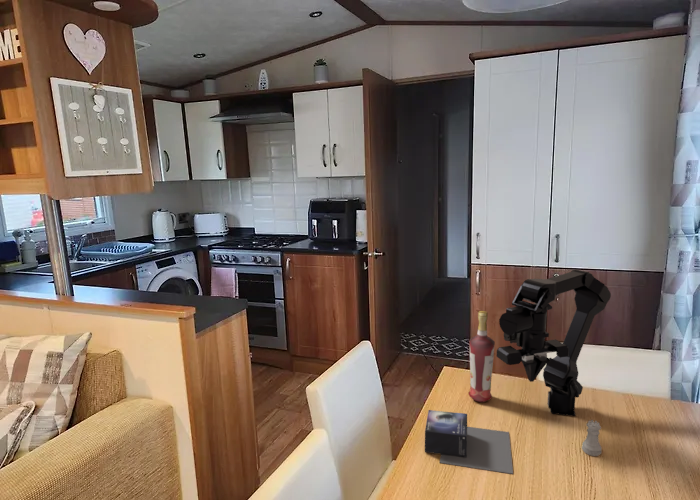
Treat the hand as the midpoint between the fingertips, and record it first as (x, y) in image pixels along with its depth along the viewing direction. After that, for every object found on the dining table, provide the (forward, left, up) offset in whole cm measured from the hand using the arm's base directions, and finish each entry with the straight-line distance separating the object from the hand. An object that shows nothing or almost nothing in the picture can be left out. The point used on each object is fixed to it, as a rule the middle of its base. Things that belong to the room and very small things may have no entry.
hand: (530, 381), depth 124 cm
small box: (+16, +14, -10) cm, 23 cm away
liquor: (+13, -11, -13) cm, 22 cm away
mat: (+14, +14, -13) cm, 24 cm away
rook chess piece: (-14, +9, -13) cm, 21 cm away
